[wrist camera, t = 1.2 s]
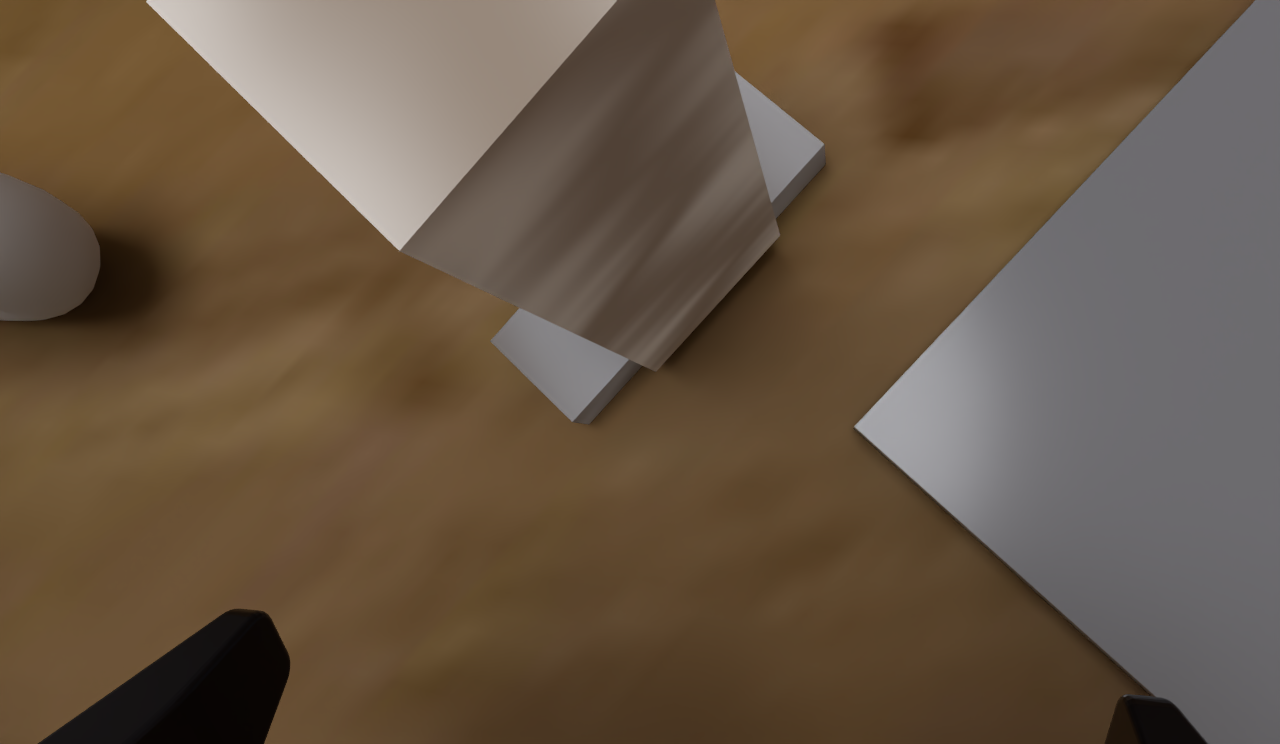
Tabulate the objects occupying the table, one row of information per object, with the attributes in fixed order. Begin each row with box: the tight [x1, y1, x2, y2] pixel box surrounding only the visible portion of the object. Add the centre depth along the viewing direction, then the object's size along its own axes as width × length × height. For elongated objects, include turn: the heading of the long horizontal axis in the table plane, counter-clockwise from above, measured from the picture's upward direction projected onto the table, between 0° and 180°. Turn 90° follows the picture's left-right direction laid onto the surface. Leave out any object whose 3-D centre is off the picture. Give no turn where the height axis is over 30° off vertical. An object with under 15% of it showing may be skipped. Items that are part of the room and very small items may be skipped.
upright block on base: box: [146, 0, 826, 424], centre depth 17 cm, size 9×4×14 cm, turn 137°
